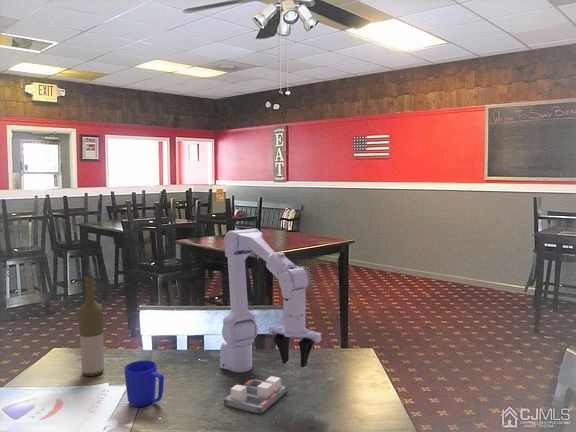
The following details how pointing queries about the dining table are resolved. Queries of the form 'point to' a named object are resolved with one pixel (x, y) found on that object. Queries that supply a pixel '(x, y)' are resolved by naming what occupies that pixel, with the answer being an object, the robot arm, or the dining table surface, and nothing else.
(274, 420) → the dining table surface
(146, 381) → the mug
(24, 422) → the dining table surface
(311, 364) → the dining table surface
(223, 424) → the dining table surface
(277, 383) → the tab far
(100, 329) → the bottle
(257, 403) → the switch bank
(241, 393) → the tab near
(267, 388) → the tab mid
